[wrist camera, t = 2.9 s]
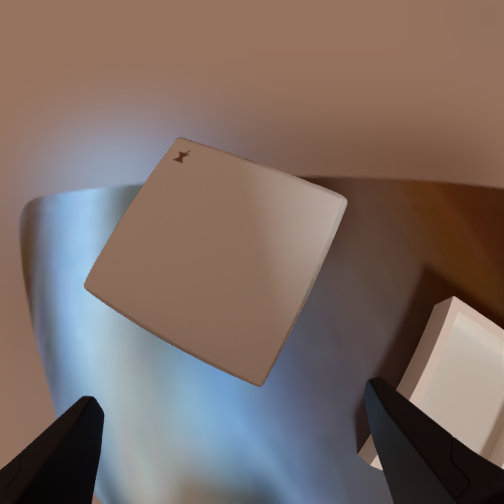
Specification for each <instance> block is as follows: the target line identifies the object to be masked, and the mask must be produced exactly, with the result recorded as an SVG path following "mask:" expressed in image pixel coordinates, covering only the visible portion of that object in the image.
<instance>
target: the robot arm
mask: <svg viewBox="0 0 504 504" xmlns="http://www.w3.org/2000/svg"><path fill="white" fill-rule="evenodd" d="M364 403H365V407H366V412H367V416H368V421H369V425H370V430H371V435H372V439H373V442H374V446H375V449H376V451H377V454H378V457H379V460H380V463H381V466H382V469H383V472H384V475H385V478H386V481H387V484H388V487H389V490H390V493H391V496H392V499H393V503H394V504H504V469H502V468H501V467H499V466H497V465H496V464H494V463H492V462H490V461H489V460H487V459H485V458H484V457H482V456H480V455H479V454H477V453H476V452H474V451H473V450H471V449H470V448H469V447H467V446H466V445H464V444H463V443H462V442H460V441H459V440H458V439H457V438H455V437H453V435H452V434H450V433H449V432H448V431H446V430H445V429H444V428H443V427H441V426H440V425H439V424H438V423H436V422H435V421H434V420H433V419H431V418H430V417H429V416H428V415H426V414H425V413H424V412H423V411H422V410H420V409H419V408H418V407H417V406H415V405H414V404H413V403H412V402H410V401H409V400H408V399H407V398H405V397H404V396H403V395H402V394H400V393H399V392H398V391H397V390H396V389H394V388H393V387H392V386H391V385H389V384H388V383H387V382H386V381H385V380H383V379H382V378H380V377H376V378H372V379H369V380H368V381H367V384H366V388H365V393H364ZM103 424H104V412H103V410H102V408H101V407H100V405H99V403H98V402H97V400H96V399H95V398H94V397H93V396H83V397H81V398H80V399H79V400H78V401H77V402H76V403H75V404H73V405H72V406H71V407H70V408H69V409H68V410H67V411H66V412H65V413H63V414H62V415H61V416H60V417H59V418H58V419H57V420H56V421H55V422H54V423H52V424H51V425H50V426H49V427H48V428H47V429H46V430H45V431H44V432H43V433H41V435H40V436H38V437H37V438H36V439H35V440H34V441H33V442H32V443H31V444H29V445H28V446H27V447H26V448H25V449H24V450H23V451H22V452H21V453H20V454H18V455H17V456H16V457H15V458H14V459H13V460H12V461H11V462H9V463H8V464H7V465H6V466H5V467H3V468H2V469H1V470H0V504H92V498H93V492H94V486H95V480H96V475H97V469H98V464H99V459H100V453H101V444H102V434H103Z"/></svg>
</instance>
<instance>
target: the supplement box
mask: <svg viewBox="0 0 504 504" xmlns="http://www.w3.org/2000/svg"><path fill="white" fill-rule="evenodd" d="M346 207H347V199H346V198H345V197H343V196H342V195H340V194H338V193H336V192H333V191H331V190H328V189H326V188H324V187H321V186H318V185H316V184H313V183H310V182H308V181H305V180H303V179H300V178H298V177H295V176H293V175H290V174H287V173H284V172H282V171H279V170H276V169H274V168H271V167H268V166H265V165H263V164H260V163H258V162H256V161H253V160H250V159H247V158H243V157H240V156H237V155H234V154H231V153H228V152H225V151H222V150H218V149H216V148H213V147H210V146H206V145H203V144H200V143H197V142H194V141H191V140H188V139H185V138H182V137H180V138H177V140H176V141H175V142H174V144H173V145H172V147H171V148H170V149H169V151H168V152H167V153H166V154H165V156H164V157H163V159H162V160H161V161H160V163H159V164H158V165H157V167H156V168H155V169H154V171H153V172H152V174H151V175H150V176H149V178H148V179H147V181H146V182H145V184H144V185H143V187H142V188H141V189H140V191H139V192H138V194H137V195H136V197H135V198H134V200H133V201H132V203H131V204H130V206H129V208H128V209H127V211H126V212H125V214H124V215H123V217H122V218H121V220H120V221H119V223H118V225H117V226H116V228H115V230H114V231H113V233H112V234H111V236H110V238H109V239H108V241H107V243H106V245H105V246H104V248H103V249H102V251H101V253H100V255H99V256H98V258H97V260H96V261H95V263H94V265H93V267H92V269H91V271H90V273H89V275H88V277H87V279H86V281H85V283H84V288H85V289H86V290H87V291H88V292H90V293H91V294H92V295H94V296H95V297H96V298H98V299H99V300H101V301H102V302H103V303H105V304H106V305H108V306H109V307H111V308H112V309H114V310H115V311H117V312H118V313H120V314H121V315H123V316H125V317H126V318H128V319H129V320H131V321H132V322H134V323H136V324H137V325H139V326H140V327H142V328H144V329H145V330H147V331H149V332H150V333H152V334H154V335H155V336H157V337H159V338H160V339H162V340H164V341H166V342H168V343H169V344H171V345H173V346H175V347H177V348H178V349H180V350H182V351H184V352H186V353H188V354H190V355H192V356H194V357H195V358H197V359H199V360H201V361H203V362H205V363H207V364H209V365H211V366H213V367H215V368H217V369H220V370H222V371H224V372H226V373H228V374H230V375H232V376H235V377H237V378H239V379H241V380H244V381H246V382H248V383H251V384H253V385H256V386H258V387H261V386H262V385H263V384H264V382H265V380H266V379H267V377H268V375H269V373H270V371H271V369H272V367H273V365H274V364H275V362H276V360H277V358H278V356H279V354H280V352H281V350H282V348H283V346H284V344H285V342H286V340H287V338H288V336H289V334H290V332H291V330H292V328H293V326H294V324H295V322H296V320H297V318H298V316H299V314H300V312H301V310H302V308H303V306H304V304H305V302H306V300H307V298H308V295H309V293H310V291H311V289H312V287H313V285H314V282H315V280H316V278H317V276H318V273H319V271H320V269H321V266H322V264H323V262H324V260H325V257H326V255H327V253H328V250H329V248H330V246H331V243H332V241H333V238H334V236H335V234H336V231H337V229H338V226H339V224H340V222H341V219H342V217H343V214H344V212H345V209H346Z"/></svg>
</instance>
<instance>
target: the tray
mask: <svg viewBox="0 0 504 504" xmlns="http://www.w3.org/2000/svg"><path fill="white" fill-rule="evenodd" d="M396 390H397V391H398V392H399V393H400V394H402V395H403V396H404V397H405V398H407V399H408V400H409V401H410V402H412V403H413V404H414V405H415V406H417V407H418V408H419V409H420V410H422V411H423V412H424V413H425V414H426V415H428V416H429V417H430V418H431V419H433V420H434V421H435V422H436V423H438V424H439V425H440V426H441V427H443V428H444V429H445V430H446V431H448V432H449V433H450V434H452V435H453V437H455V438H457V439H458V440H459V441H460V442H462V443H463V444H464V445H466V446H467V447H469V448H470V449H471V450H473V451H474V452H476V453H477V454H479V455H480V456H482V457H484V458H485V459H487V460H489V461H490V462H492V463H494V464H496V465H497V466H499V467H501V468H502V469H504V330H503V329H502V328H500V327H499V326H497V325H496V324H495V323H493V322H492V321H490V320H489V319H487V318H486V317H484V316H483V315H482V314H480V313H479V312H477V311H476V310H474V309H473V308H471V307H470V306H468V305H467V304H465V303H464V302H462V301H461V300H459V299H458V298H456V297H455V296H453V297H451V298H449V299H446V300H444V301H442V302H440V303H438V304H436V305H434V308H433V310H432V313H431V315H430V318H429V320H428V323H427V325H426V328H425V330H424V332H423V335H422V337H421V339H420V342H419V344H418V346H417V348H416V350H415V353H414V355H413V357H412V359H411V361H410V363H409V365H408V367H407V369H406V371H405V373H404V375H403V377H402V379H401V381H400V383H399V385H398V387H397V389H396ZM358 455H359V456H360V457H361V458H362V459H364V460H365V461H366V462H367V463H368V464H369V465H371V466H373V467H376V468H378V469H380V470H383V469H382V466H381V463H380V460H379V457H378V454H377V451H376V449H375V446H374V442H373V439H372V435H371V434H370V436H369V437H368V439H367V441H366V442H365V444H364V445H363V447H362V448H361V450H360V451H359V453H358Z"/></svg>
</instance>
